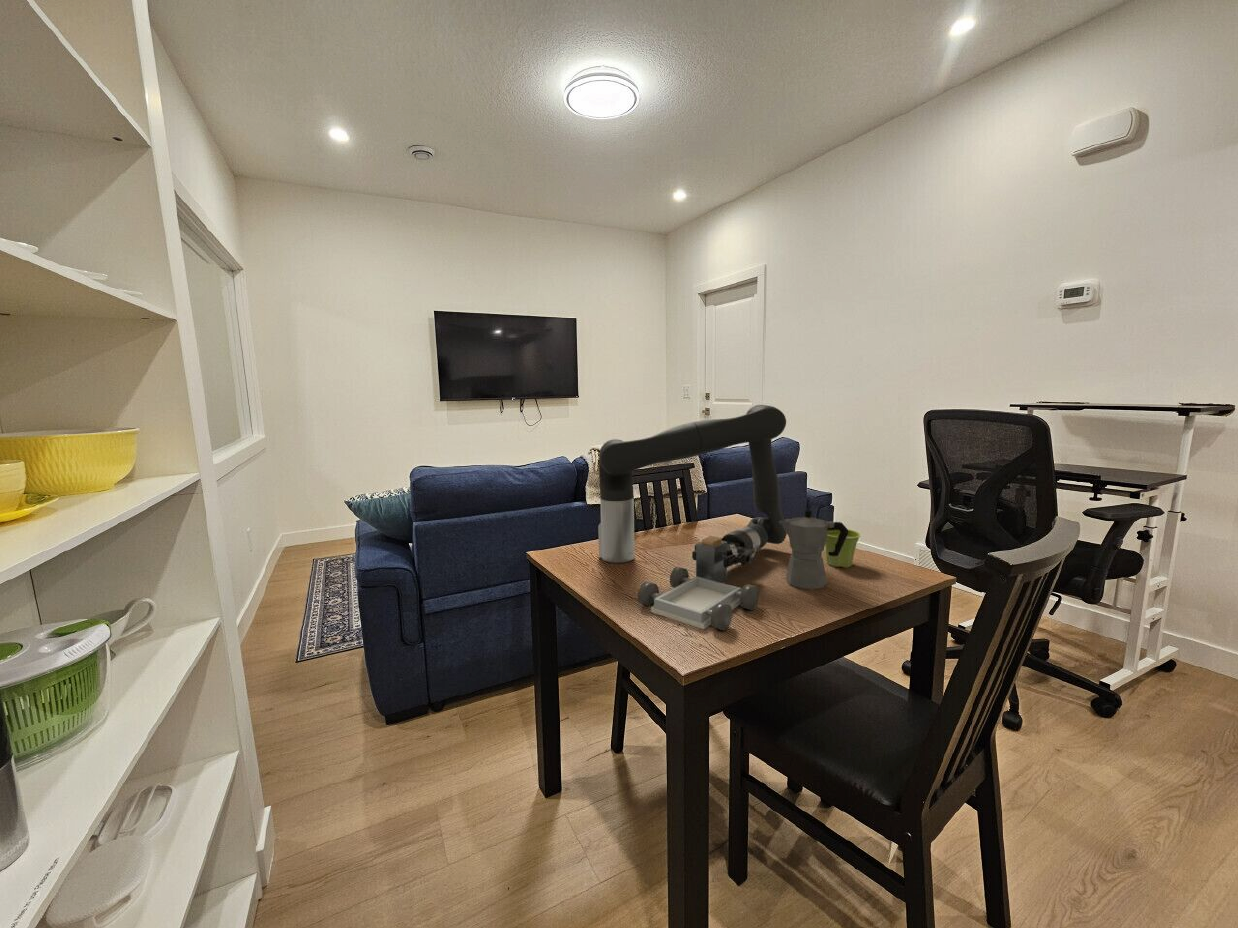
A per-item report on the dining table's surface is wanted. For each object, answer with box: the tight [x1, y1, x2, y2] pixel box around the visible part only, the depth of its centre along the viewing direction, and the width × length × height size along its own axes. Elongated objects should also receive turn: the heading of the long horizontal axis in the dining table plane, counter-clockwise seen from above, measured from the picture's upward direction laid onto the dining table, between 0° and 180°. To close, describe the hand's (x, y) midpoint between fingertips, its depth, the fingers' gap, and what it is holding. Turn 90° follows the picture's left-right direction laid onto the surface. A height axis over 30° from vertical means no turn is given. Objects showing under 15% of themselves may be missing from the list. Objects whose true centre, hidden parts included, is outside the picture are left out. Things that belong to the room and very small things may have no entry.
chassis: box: [637, 566, 760, 632], centre depth 111 cm, size 20×17×5 cm
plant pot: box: [824, 528, 861, 569], centre depth 136 cm, size 9×9×9 cm
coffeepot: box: [779, 509, 848, 590], centre depth 122 cm, size 15×9×18 cm, turn 65°
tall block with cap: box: [695, 535, 728, 584], centre depth 124 cm, size 5×6×11 cm
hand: (709, 559), depth 123 cm, fingers open, 8 cm apart
